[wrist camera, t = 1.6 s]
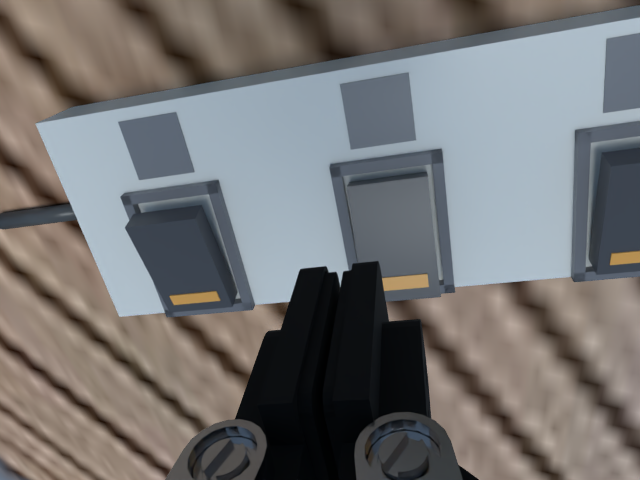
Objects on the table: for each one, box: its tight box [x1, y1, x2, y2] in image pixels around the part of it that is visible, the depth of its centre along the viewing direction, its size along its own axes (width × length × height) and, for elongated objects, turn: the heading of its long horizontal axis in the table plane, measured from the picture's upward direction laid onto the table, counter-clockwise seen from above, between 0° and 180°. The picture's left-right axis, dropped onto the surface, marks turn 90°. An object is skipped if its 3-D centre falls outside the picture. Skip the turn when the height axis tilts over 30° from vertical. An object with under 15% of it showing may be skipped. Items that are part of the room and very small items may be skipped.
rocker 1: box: [125, 205, 237, 313], centre depth 32 cm, size 7×4×2 cm, turn 11°
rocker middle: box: [347, 172, 441, 302], centre depth 30 cm, size 7×4×2 cm, turn 10°
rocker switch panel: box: [0, 5, 640, 317], centre depth 32 cm, size 14×49×5 cm, turn 101°
